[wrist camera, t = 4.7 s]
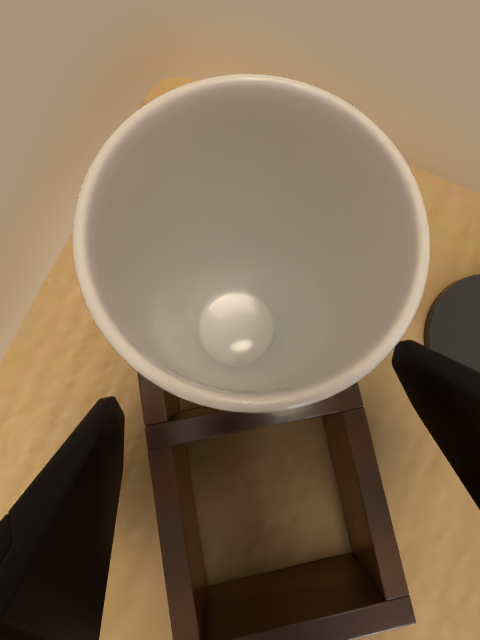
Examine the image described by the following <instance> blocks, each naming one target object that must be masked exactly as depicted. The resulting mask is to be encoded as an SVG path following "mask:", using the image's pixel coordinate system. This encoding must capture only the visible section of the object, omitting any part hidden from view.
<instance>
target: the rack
mask: <svg viewBox="0 0 480 640" xmlns="http://www.w3.org/2000/svg"><path fill="white" fill-rule="evenodd" d="M137 373H138V372H137ZM138 381H139V388H140V396H141V403H142V411H143V418H144V425H145V433H146V441H147V448H148V450H149V451H148V456H149V464H150V471H151V479H152V486H153V494H154V501H155V509H156V516H157V523H158V531H159V538H160V546H161V553H162V561H163V568H164V576H165V583H166V590H167V598H168V605H169V613H170V620H171V628H172V635H173V640H352V639H356V638H360V637H364V636H368V635H372V634H376V633H380V632H383V631H387V630H391V629H395V628H399V627H403V626H407V625H411V624H415V623H416V620H415V616H414V612H413V608H412V604H411V600H410V596H409V591H408V587H407V583H406V579H405V575H404V571H403V567H402V563H401V559H400V554H399V550H398V546H397V542H396V538H395V534H394V530H393V526H392V522H391V517H390V513H389V509H388V505H387V501H386V497H385V493H384V489H383V485H382V480H381V476H380V472H379V468H378V464H377V460H376V456H375V452H374V448H373V443H372V439H371V435H370V431H369V427H368V423H367V419H366V415H365V411H364V408H363V402H362V398H361V394H360V390H359V386H358V384H357V383H358V382H356V383H355V384H353V385H352V386H350V387H348V388H347V389H345V390H343V391H341V392H339V393H337V394H335V395H333V396H331V397H329V398H327V399H324V400H322V401H319V402H316V403H314V404H311V405H307V406H303V407H300V408H296V409H292V410H285V411H279V412H268V413H241V412H231V411H224V410H218V409H214V408H210V407H206V406H205V407H200V408H195V409H190V410H185V411H180V406H179V400H178V396H176V395H173V394H171V393H169V392H167V391H165V390H163V389H162V388H160V387H158V386H157V385H155V384H154V383H152V382H151V381H149V380H147V379H146V378H145V377H143V376H142V375H141V374H140V373H138ZM179 411H180V412H179ZM321 415H323V420H324V424H325V429H326V433H327V438H328V442H329V447H330V451H331V456H332V460H333V465H334V469H335V474H336V478H337V483H338V487H339V492H340V496H341V501H342V505H343V510H344V514H345V519H346V523H347V528H348V532H349V537H350V541H351V546H352V550H353V553H350V554H345V555H341V556H337V557H333V558H328V559H324V560H320V561H316V562H311V563H307V564H303V565H299V566H294V567H290V568H286V569H281V570H277V571H273V572H269V573H264V574H260V575H256V576H252V577H247V578H243V579H239V580H235V581H230V582H226V583H222V584H218V585H213V586H209V587H207V582H206V576H205V569H204V563H203V556H202V550H201V543H200V537H199V530H198V524H197V517H196V511H195V504H194V497H193V491H192V484H191V478H190V471H189V465H188V458H187V452H186V445H185V443H189V442H193V441H198V440H203V439H208V438H213V437H218V436H223V435H228V434H233V433H238V432H243V431H247V430H252V429H257V428H262V427H267V426H272V425H277V424H282V423H287V422H292V421H296V420H301V419H306V418H311V417H316V416H321Z"/></svg>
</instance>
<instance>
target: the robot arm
mask: <svg viewBox="0 0 480 640" xmlns="http://www.w3.org/2000/svg"><path fill="white" fill-rule="evenodd" d="M392 366H393V368H394V370H395V372H396V374H397V376H398V378H399V380H400V382H401V384H402V386H403V388H404V390H405V392H406V394H407V396H408V398H409V400H410V402H411V404H412V405H413V407H414V409H415V411H416V412H417V414H418V415H419V417H420V418H421V420H422V422H423V423H424V425H425V426H426V428H427V429H428V431H429V432H430V434H431V435H432V437H433V438H434V440H435V442H436V443H437V445H438V446H439V448H440V449H441V451H442V452H443V454H444V455H445V457H446V458H447V460H448V462H449V463H450V465H451V466H452V468H453V469H454V471H455V472H456V474H457V475H458V477H459V478H460V480H461V482H462V483H463V485H464V486H465V488H466V489H467V491H468V492H469V494H470V495H471V497H472V499H473V500H474V502H475V503H476V505H477V506H478V508H479V509H480V372H479V371H476V370H474V369H472V368H470V367H468V366H466V365H464V364H462V363H459V362H457V361H455V360H453V359H451V358H449V357H447V356H445V355H442V354H440V353H438V352H436V351H434V350H432V349H430V348H427V347H425V346H423V345H421V344H419V343H417V342H415V341H412V340H405V341H399V342H398V344H397V345H396V346H395V349H394V353H393V357H392ZM124 423H125V419H124V413H123V411H122V409H121V407H120V405H119V404H118V402H117V400H116V398H115V397H113V396H111V397H105V398H101V399H99V400H98V401H97V402H96V404H95V405H94V406H93V407H92V409H91V410H90V411H89V412H88V414H87V415H86V416H85V417H84V419H83V420H82V421H81V422H80V423H79V425H78V426H77V427H76V428H75V430H74V431H73V432H72V433H71V435H70V436H69V437H68V438H67V440H66V441H65V442H64V443H63V445H62V446H61V447H60V448H59V449H58V451H57V452H56V453H55V454H54V456H53V457H52V458H51V459H50V461H49V462H48V463H47V464H46V466H45V467H44V468H43V469H42V471H41V472H40V473H39V474H38V475H37V477H36V478H35V479H34V480H33V482H32V483H31V484H30V485H29V487H28V488H27V489H26V490H25V492H24V493H23V494H22V495H21V497H20V498H19V499H18V500H17V501H16V503H15V504H14V505H13V506H12V508H11V509H10V510H9V512H8V514H6V515H5V516H4V517H3V519H2V520H1V521H0V640H99V635H100V628H101V621H102V614H103V607H104V600H105V593H106V586H107V579H108V572H109V565H110V558H111V551H112V544H113V537H114V530H115V523H116V516H117V509H118V502H119V495H120V488H121V481H122V473H123V460H124Z"/></svg>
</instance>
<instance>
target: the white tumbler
mask: <svg viewBox="0 0 480 640" xmlns="http://www.w3.org/2000/svg"><path fill="white" fill-rule="evenodd" d="M72 245H73V259H74V265H75V271H76V276H77V280H78V283H79V287H80V290H81V293H82V296H83V298H84V301H85V303H86V306H87V308H88V310H89V312H90V314H91V316H92V318H93V320H94V322H95V324H96V325H97V327H98V328H99V330H100V331H101V333H102V334H103V336H104V337H105V339H106V340H107V341H108V343H109V344H110V345H111V346H112V347H113V349H114V350H115V351H116V352H117V353H118V355H119V356H121V357H122V358H123V359H124V360H125V361H126V362H127V363H128V364H129V365H130V366H131V367H132V368H133V369H134V370H136V371H137V372H138V373H140V374H141V375H142V376H143V377H145V378H146V379H147V380H149V381H151V382H152V383H154V384H155V385H157V386H158V387H160V388H162V389H163V390H165V391H167V392H169V393H171V394H173V395H176V396H178V397H180V398H182V399H185V400H187V401H190V402H193V403H196V404H198V405H202V406H206V407H210V408H214V409H218V410H224V411H231V412H241V413H268V412H279V411H285V410H292V409H296V408H300V407H303V406H307V405H311V404H314V403H316V402H319V401H322V400H324V399H327V398H329V397H331V396H333V395H335V394H337V393H339V392H341V391H343V390H345V389H347V388H348V387H350V386H352V385H353V384H355V383H356V382H358V381H359V380H361V379H362V378H363V377H365V376H366V375H367V374H368V373H370V372H371V371H372V370H373V369H375V368H376V367H377V366H378V365H379V364H380V363H381V362H382V361H383V360H384V359H385V358H386V357H387V356H388V355H389V354H390V352H391V351H392V350H393V349H394V347H395V346H396V345H397V344H398V342H399V341H400V340H401V338H402V337H403V335H404V333H405V332H406V330H407V329H408V327H409V325H410V323H411V321H412V319H413V318H414V316H415V314H416V311H417V309H418V306H419V304H420V301H421V298H422V296H423V292H424V288H425V285H426V281H427V275H428V269H429V260H430V234H429V225H428V218H427V213H426V209H425V205H424V201H423V198H422V195H421V192H420V189H419V187H418V184H417V182H416V180H415V178H414V175H413V173H412V171H411V169H410V167H409V166H408V164H407V162H406V161H405V159H404V157H403V156H402V154H401V153H400V152H399V150H398V149H397V147H396V146H395V145H394V143H393V142H392V141H391V140H390V139H389V137H388V136H387V135H386V134H385V133H384V132H383V131H382V130H381V129H380V128H379V127H378V126H377V125H376V124H375V123H374V122H373V121H372V120H371V119H370V118H368V117H367V116H366V115H365V114H363V113H362V112H361V111H360V110H358V109H357V108H355V107H354V106H352V105H351V104H349V103H348V102H346V101H345V100H343V99H341V98H339V97H337V96H335V95H334V94H332V93H329V92H328V91H325V90H323V89H321V88H318V87H316V86H313V85H310V84H307V83H304V82H301V81H297V80H294V79H290V78H285V77H279V76H273V75H264V74H263V75H262V74H231V75H222V76H215V77H210V78H205V79H201V80H198V81H194V82H191V83H188V84H185V85H182V86H180V87H177V88H175V89H172V90H170V91H168V92H166V93H164V94H162V95H160V96H158V97H157V98H155V99H153V100H152V101H150V102H148V103H147V104H145V105H144V106H143V107H141V108H140V109H138V110H137V111H136V112H134V113H133V114H132V115H131V116H130V117H129V118H127V119H126V120H125V121H124V122H123V123H122V124H121V125H120V126H119V127H118V128H117V129H116V130H115V131H114V132H113V133H112V135H111V136H110V137H109V138H108V140H107V141H106V142H105V143H104V145H103V146H102V147H101V149H100V150H99V152H98V154H97V155H96V157H95V159H94V160H93V162H92V164H91V166H90V168H89V170H88V172H87V174H86V176H85V179H84V181H83V184H82V187H81V189H80V192H79V196H78V200H77V204H76V208H75V214H74V222H73V236H72Z"/></svg>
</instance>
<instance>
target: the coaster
mask: <svg viewBox="0 0 480 640" xmlns="http://www.w3.org/2000/svg"><path fill="white" fill-rule="evenodd" d="M425 346H426V347H427V348H430V349H432V350H434V351H436V352H438V353H440V354H442V355H445V356H447V357H449V358H451V359H453V360H455V361H457V362H459V363H462V364H464V365H466V366H468V367H470V368H472V369H474V370H476V371H479V372H480V274H479V275H473V276H470V277H467V278H464V279H462V280H460V281H458V282H456V283H454V284H452V285H451V286H449V287H448V288H447V289H445V290H444V291H443V292H442V293H441V294H440V296H439V297H438V298H437V299H436V301H435V302H434V304H433V306H432V307H431V310H430V312H429V315H428V318H427V322H426V327H425Z"/></svg>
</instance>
